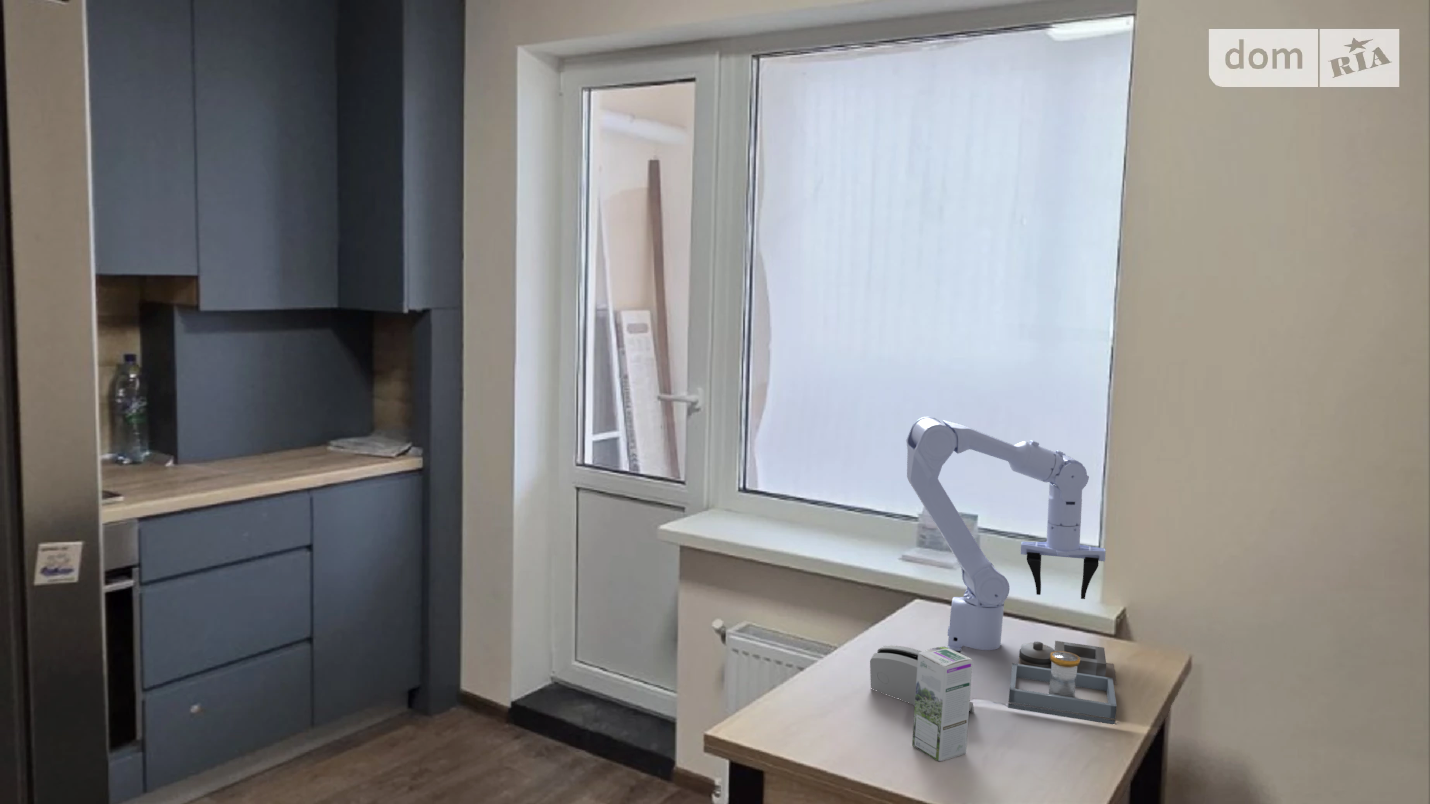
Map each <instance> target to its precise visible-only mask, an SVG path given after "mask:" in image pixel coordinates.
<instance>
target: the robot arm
mask: <svg viewBox="0 0 1430 804" xmlns="http://www.w3.org/2000/svg"><path fill="white" fill-rule="evenodd" d="M942 422H943V423H942ZM905 441H906V449H907V456H906V457H907V458H906V460H907V461H906V467H907V468H906V478H907V480H908V482H909V484H910V486H911V487H912V489H913V491H914V492H915V495H917V497H918V499H919V500H920V502H921V503H922V505H923V507H924V508H925V510H926V512H927V514H928V515H929V517H930V518H931V520H932V522H933V523H934V524H935V526H936V528H937V529H938V531H939V533H940V534H941V536H942V538H943V539H944V542H945V543H946V545H947V546H948V547H949V549H950V551H951V552H952V554H953V556H954V557H955V558H956V562H957V564H958V565H959V568H960V569H961V578H962V581H963V582H962V583H964V585H965V587H966V589H965V592H964V593H963V596H953V597H952V600H951V607H950V616H949V617H950V618H949V626H948V628H947V637H948V641H947V642H948V643H947V648H949V649H951V650H954V651H956V652H962V647H967V648H971V649H975V650H981V651H991V650H992V651H994V650H996V649H999V648H1001V642H1002V631H1003V620H1004V608H1005V601H1006V599H1008V597H1009V593H1010V583H1009V581H1008V579H1007V578H1006V577H1005V576H1004V575H1003V574H1002V573H1000V572H999V571H998V570H997V568H996V567H995V566H994V565H993V563H992V562H991V561H990V560H989V559H988V557H986V555H985V554H984V552H983V551H982V549H981V548H980V546H979V544H978V542H977V541H976V539H975V538H974V536H973V534H972V533H971V531H970V529H969V528H968V526H967V524H966V523H965V521H964V519H963V517H962V516H961V515H960V513H959V512H958V509H957V508H956V506H955V505H954V503H953V502H952V500H951V498H950V497H949V495H948V493H947V492H946V490H945V488H944V487H943V484H942V483H941V482H940V480H939V476H940V473H941V471H942V468H943V466H944V464H945V463H946V462H947V461H948V459H949V458H950V457H951V456H952V454H953V453H954V452H955V453H956V454H957V455H958V454H962V453H964V452H966V451H969V450H971V451H972V450H973V451H974V452H979V453H981V454H985V455H988V456H990V457H992V458H996V459H1000V460H1001V461H1006V462H1007V463H1008V464H1009V466H1010V468H1011V470H1012V471H1013V472H1015V473H1018V474H1021V475H1024V476H1026V477H1028V478H1031V479H1034V480H1037V481H1040V482H1042V483H1049V488H1048V489H1049V490H1048V501H1047V502H1048V503H1047V504H1048V505H1047V526H1046V527H1047V529H1046V541H1021V544H1020V555H1023V556H1024V555H1025V556H1026V561H1027V565H1028V567H1029V569H1030V571H1031V574H1032V577H1033V580H1034V585H1035V593H1036V594H1035V595H1037V596H1040V595H1041V592H1042V580H1041V579H1042V578H1041V576H1042V575H1041V571H1042V556H1048V557H1061V558H1071V559H1072V558H1073V559H1083V566H1082V567H1083V569H1082V582H1081V587H1080V588H1081V589H1080V599H1081V600H1085V599H1086V595H1087V591H1088V587H1089V585H1090V583H1091V580H1092V578H1093V577H1094V574H1095V573H1096V571H1097V569H1098V568H1099V562H1105V561H1106V552H1107V551H1106V548H1104V547H1096V546H1090V545H1084V544H1081V543H1080V542H1081V525H1082V524H1081V523H1082V507H1083V505H1082V504H1083V503H1082V502H1083V490H1084V488H1085V487H1086V486H1087V484H1088V482H1089V478H1090V477H1089V475H1088V474H1087V473H1088V472H1087V469H1086V467H1085V466H1084V465H1083V463H1081V462H1080V461H1079V460H1077V459H1074V458H1073V457H1071V456H1069V455H1067V454H1066V453H1064V452H1062V451H1060V450H1057V449H1056V450H1055V451H1054V450H1051V449H1048V448H1045V447H1043V446H1040V443H1039V442H1037V441H1035V440H1032V439H1030V440H1029V442H1028V441H1025V440H1023V441H1020V442H1018V443H1014V444H1012V443H1010V442H1007V441H1004V440H1002V439H1000V438H998V437H994V436H991V435H990V434H987V433H984V432H982V431H980V430H977V429H975V428H971V427H969V426H967V425H963V424H959V423H956V422H952V421H949V420H945V419H942V421H940V420H939V419H937V418H935V417H933V416H922V417H920V418H919V419H918V418H917V420H915V422H913V424H912V426H911V427H910V431H909V432H908V435H907V437H906V440H905Z"/></svg>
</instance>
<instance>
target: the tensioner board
mask: <svg viewBox="0 0 1430 804" xmlns="http://www.w3.org/2000/svg"><path fill="white" fill-rule="evenodd" d="M1055 651H1064V652H1070V653H1073V654H1075V655H1077V656H1079V657H1080V664H1079V665H1078V666H1077V673H1082V674H1089V675H1096V676H1102V677H1109V678H1113V685H1114V686H1117V685H1118V684H1117V676H1116V671H1115V663H1111V662H1107V659H1106V651H1105V647H1103V646H1095V645H1089V644H1082V643H1073V642H1068V641H1061V640H1055V641H1054V648H1052V647H1051V646H1049V645H1046V644H1044V643H1043V642H1041V641H1034V642H1027V643H1023V644H1021V646H1020V649H1019V651H1018V653H1019V654H1018V663H1017V664H1022V665H1028V666H1035V667H1042V668H1049V669H1051V663H1052V661H1051V660H1050V654H1051V653H1052V652H1055Z"/></svg>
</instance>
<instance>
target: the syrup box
mask: <svg viewBox="0 0 1430 804" xmlns="http://www.w3.org/2000/svg"><path fill="white" fill-rule="evenodd" d="M921 651H922V650H921ZM973 661H974V659H972V658H970V657H969V656H966V655H964V654H962V653H960V652H959V651H954V650H951V649H949V648H948V646H938V647H932V648H929V649H926V650H923V651H922V652H919V653H918V663H917V679H916V695H915V705H914V710H913V711H914V713H913V726H912V738H911V739H912V743H911V746H912V747H913V748H915V749H917V750H918V751H920V752H922V753H924V754H926V755H927V756H929V757H931V758H932V759H934V760H935V761H937V762H943V761H948V760H949V759H954V758H957V757H959V756H962V755H966V753H967V746H968V728H969V727H968V726H969V717H970V716H969V715H970V712H969V703H970V702H971V700H970V699H971V689H972V688H971V687H972V679H973V678H972V677H973V675H972V674H973V663H974V662H973Z"/></svg>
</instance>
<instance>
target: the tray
mask: <svg viewBox="0 0 1430 804" xmlns="http://www.w3.org/2000/svg"><path fill="white" fill-rule="evenodd" d="M1050 673H1051V669H1049V668H1042V667H1035V666H1028V665H1022V664H1018V663H1015V662H1014V663H1013V662H1012V663H1011V673H1010V683H1009V694H1008V695H1009V696H1008V702H1009V703H1008V704H1007V705H1008V706H1007V707H1008V708H1009V709H1013V710H1014V709H1015V710H1022V711H1027V712H1032V713H1039V714H1045V715H1051V716H1057V717H1064V718H1071V719H1078V720H1082V721H1083V720H1084V721H1089V722H1093V723H1094V722H1096V723H1100V722H1102V724H1107V725H1113V724H1115V725H1116V720H1115V719H1116V715H1117V707H1118V705H1117V700H1116V693H1115V685H1113V678H1109V677H1102V676H1096V675H1089V674H1082V673H1077V676H1076V686H1075V687H1079V688H1085V689H1086V688H1087V689H1092V690H1096V691H1097V690H1098V691H1105V692H1106V697H1107V698H1106V699H1107V702H1102V701H1097V700H1089V699H1084V698H1077V697H1074V698H1072V697H1065V696H1059V695H1053V694H1049V693H1045V692H1040V691H1031V690H1027V689H1019V688H1016V683H1017V678H1021V679H1026V680H1033V681H1040V682H1046V683H1050Z"/></svg>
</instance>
